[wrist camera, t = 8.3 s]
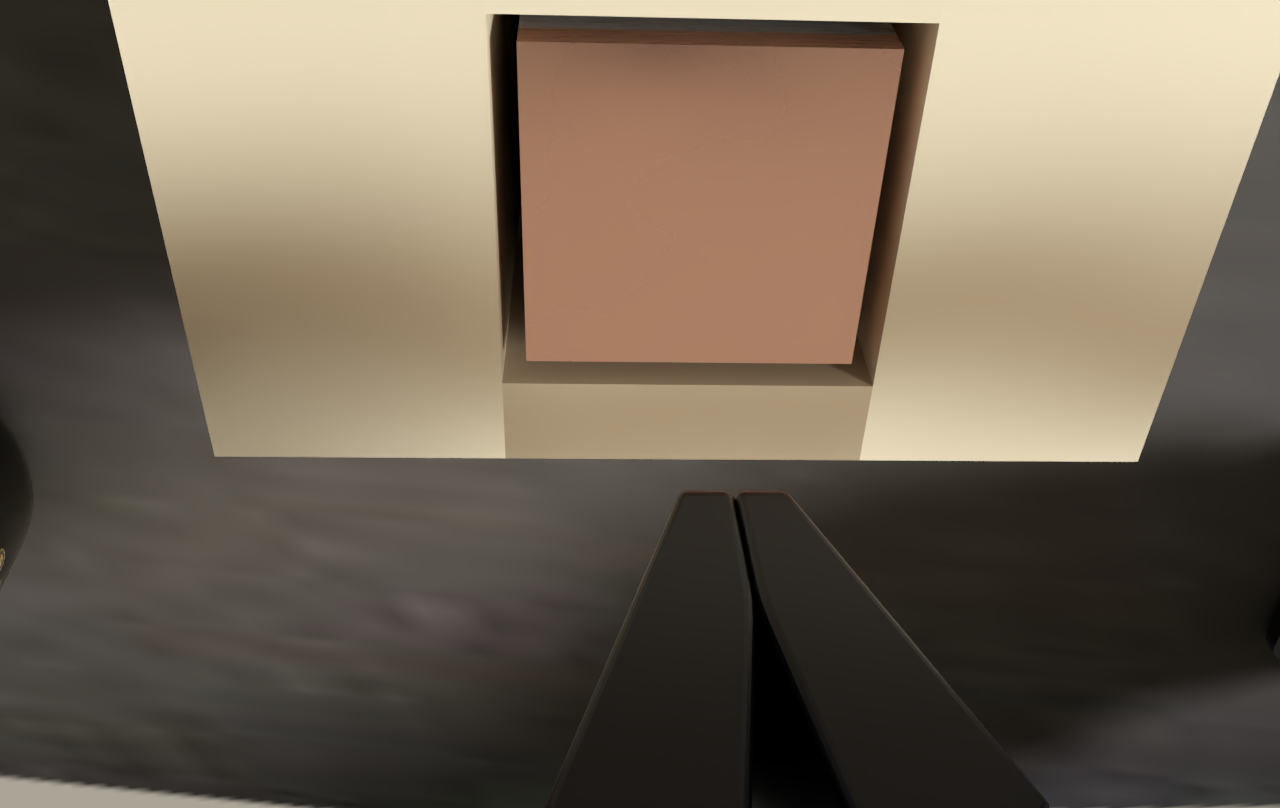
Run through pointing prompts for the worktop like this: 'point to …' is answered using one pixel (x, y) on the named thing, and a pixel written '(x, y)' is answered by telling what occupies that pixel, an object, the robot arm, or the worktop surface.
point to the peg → (700, 185)
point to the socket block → (679, 391)
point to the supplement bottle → (12, 499)
